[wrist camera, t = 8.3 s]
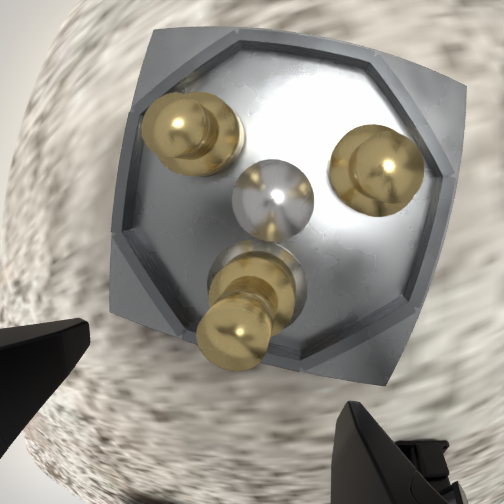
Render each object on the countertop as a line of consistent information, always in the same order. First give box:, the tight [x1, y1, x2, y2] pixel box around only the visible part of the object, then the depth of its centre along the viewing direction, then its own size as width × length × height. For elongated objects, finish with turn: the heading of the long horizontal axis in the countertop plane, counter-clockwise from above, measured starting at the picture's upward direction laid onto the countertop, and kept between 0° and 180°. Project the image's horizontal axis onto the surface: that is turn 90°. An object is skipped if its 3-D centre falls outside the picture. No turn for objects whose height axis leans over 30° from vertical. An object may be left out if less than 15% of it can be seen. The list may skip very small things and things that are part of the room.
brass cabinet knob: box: [196, 251, 296, 371], centre depth 14 cm, size 4×4×6 cm
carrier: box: [110, 26, 467, 386], centre depth 14 cm, size 20×20×6 cm
